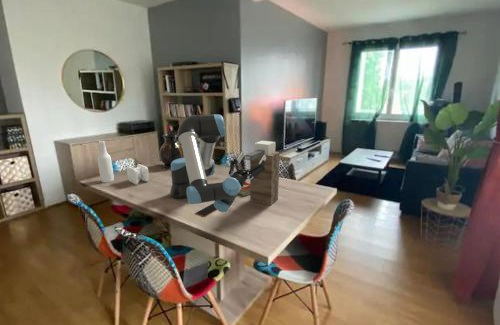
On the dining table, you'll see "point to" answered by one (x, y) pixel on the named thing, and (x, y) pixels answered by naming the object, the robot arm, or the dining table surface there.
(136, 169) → the cable organizer
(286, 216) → the dining table surface
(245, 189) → the hardcover book
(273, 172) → the stand
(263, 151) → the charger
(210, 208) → the smartphone
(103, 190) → the dining table surface
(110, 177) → the alcohol
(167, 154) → the amphora vase
